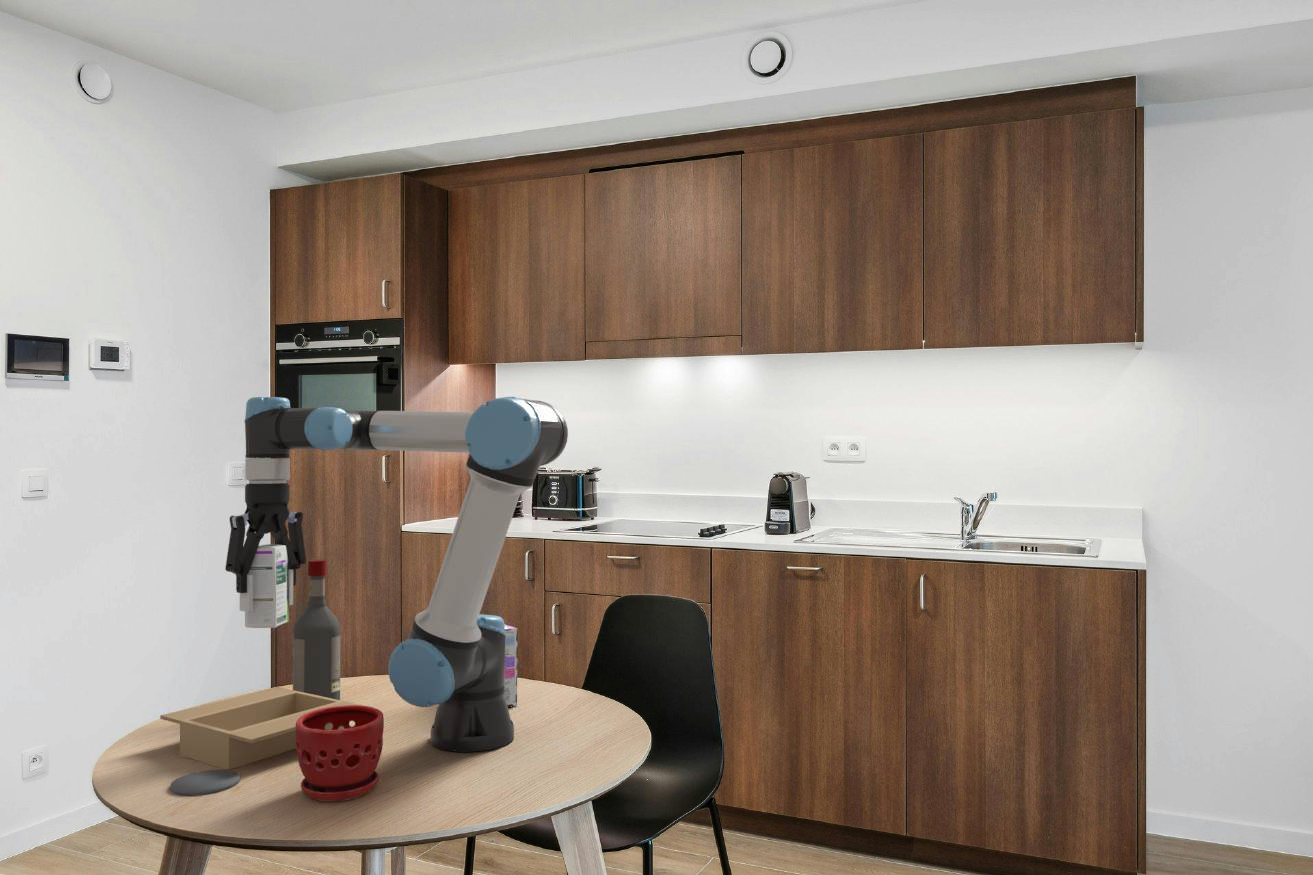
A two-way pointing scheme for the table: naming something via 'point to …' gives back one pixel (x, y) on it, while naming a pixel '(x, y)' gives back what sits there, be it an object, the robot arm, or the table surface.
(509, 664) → the candy box
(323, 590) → the liquor
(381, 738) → the plant pot
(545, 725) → the table surface
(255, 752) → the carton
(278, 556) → the syrup box
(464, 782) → the table surface
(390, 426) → the robot arm
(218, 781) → the coaster
